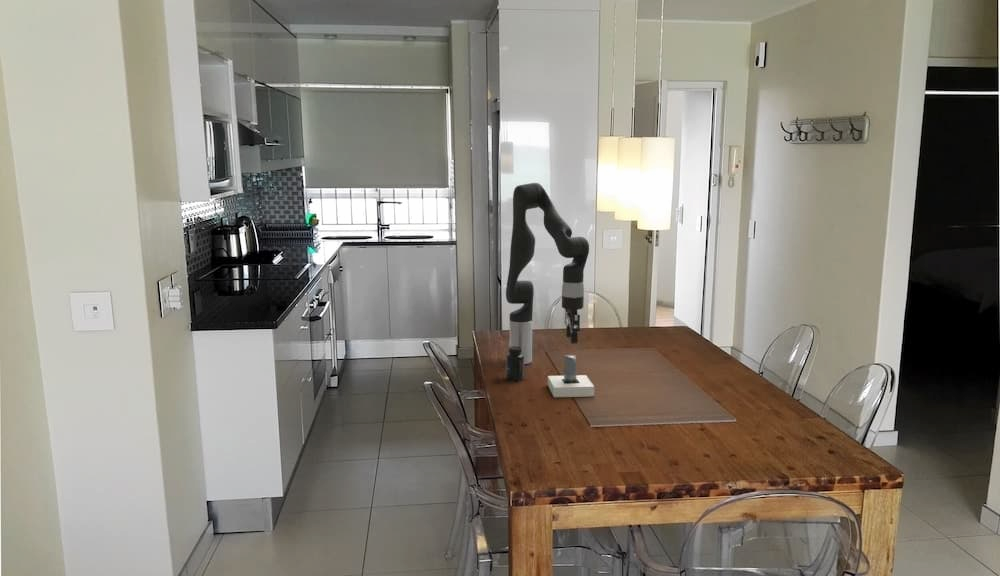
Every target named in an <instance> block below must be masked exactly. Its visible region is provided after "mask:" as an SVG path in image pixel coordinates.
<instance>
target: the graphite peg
mask: <svg viewBox="0 0 1000 576" xmlns="http://www.w3.org/2000/svg"><path fill="white" fill-rule="evenodd" d="M577 358H578V357H577V356H576V355H575V354H572V355H571V354H569V355H568V354H567V355H564V356H563V376H564V384H571V383H576V375H577V370H578V369H577V367H578V366H577V364H578V363H577Z"/></svg>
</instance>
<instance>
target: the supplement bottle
mask: <svg viewBox="0 0 1000 576" xmlns="http://www.w3.org/2000/svg"><path fill="white" fill-rule="evenodd" d="M521 353H522V348H521V347H518V346H512V347H508V354H506V357H505V379H506V380H507V381H510V382H521V381H522V380H524V378H525V364H524V356H523V355H522V354H521Z"/></svg>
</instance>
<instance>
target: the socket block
mask: <svg viewBox="0 0 1000 576" xmlns="http://www.w3.org/2000/svg"><path fill="white" fill-rule="evenodd" d="M547 387H548V388H549V390H550V392H551V395H552V396H553V397H554V398H577V397H579V398H581V397H582V398H584V397H585V398H586V397H587V398H588V397H595V385H594V384H593V383H592V381H591V380H590V378H589V377H588V376H587V375H586V374H581V375H580V374H579V375H577V374H576V383H571V384H564V375H548V376H547Z"/></svg>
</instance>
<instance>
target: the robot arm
mask: <svg viewBox="0 0 1000 576" xmlns="http://www.w3.org/2000/svg"><path fill="white" fill-rule="evenodd" d="M512 193H513V194H512V230H511V231H512V233H511V239H510V240H511V241H510V253H509V254H510V255H509V266H508V267H509V268H508V274H507V275H508V276H507V280H506V288H505V298H506V301H507V303H508V304H513V305H517V304H518V305H519V304H522V307H519V308H517V309H516V310H514V311H512V312H510V313H509V342H508V343H509V347H512V346H518V347H521V348H522V353H521V354H522V355H523V356H524V365H527V364H530V363H532V362H533V314H534V313H533V312H534V309H533V308H534V294H535V293H534V292H535V289H534V284H533V282H532V281H531V280H518V278H519V277H520V274H521V273H522V271H523V270H524V269H525V268H526V267H527V266H528V264H529V263H530V262H531V261H532V259H533V257H534V255H535V248H536V237H535V234H534V233H533V231H532V230H531V228H530V227H529V225H528V222H527V219H526V218H527V217H526V214H527V213H526V212H527V211H528V210H531V209H532V210H533V209H536V208H539V209H540V210H541V211H542V212H543V226H544V228H545V230H546V231H547V233H548V234H549V235H550V236H551V239H553V241H554V243H555V245H556V249H557V251H558V253H559V255H560V256H562V257H563V258H566V259H572V261H571V262H570V263H568V264H566V265H564V266H563V271H562V285H561V308H562V309H564V312H565V313H564V314H565V315H564V324H565V326H566V328H565V329H566V332H565V333H566V335H565V336H566V337H567V338H570V344H578V335H579V333H580V331H581V330H580V327H581V325H580V324H581V323H580V320H581V319H580V317H581V315H580V314H579V313H578V310H583V308H584V300H585V299H584V296H585V295H584V294H585V293H584V292H585V287H584V286H585V285H584V272H585V271H584V270H585V267H586V263H587V260H588V257H589V253H590V244H589V241H588V240H587V238H586V237H584V236H572V235H573V230H572V228H571V227H570V225H569V224H568V223H567V222H566V221H565V220H564V218H563V217H562V216H561V215H560V214H559V212H558V211H557V209H556V206H555V205H554V203H553V201H552V200H551V198H550V196H549V195H548V193H547V190H546V189H545V188H544V187H543V186H542V185H541V184H540V183H538V182H531V183H523V184H519V185H517V186H516V187H515V188H514V190H513V192H512ZM509 347H508V348H509Z"/></svg>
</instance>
